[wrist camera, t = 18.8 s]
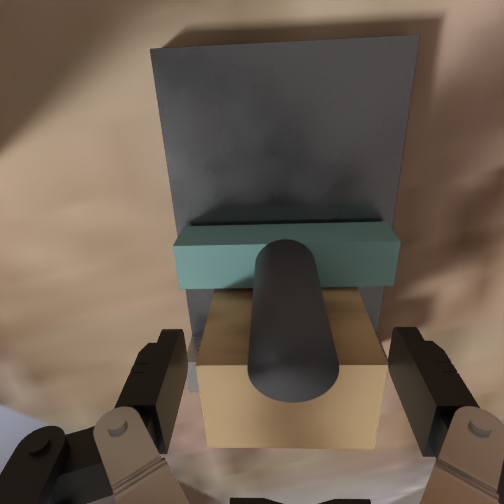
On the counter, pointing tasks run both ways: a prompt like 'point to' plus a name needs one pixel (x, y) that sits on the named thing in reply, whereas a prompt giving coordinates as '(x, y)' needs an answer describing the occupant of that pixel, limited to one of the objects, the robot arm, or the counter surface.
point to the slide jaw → (288, 290)
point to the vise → (284, 138)
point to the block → (284, 413)
